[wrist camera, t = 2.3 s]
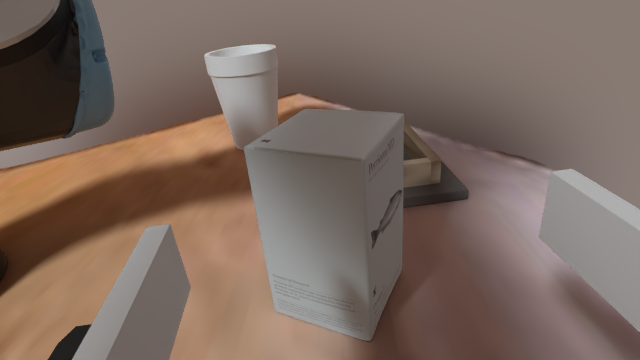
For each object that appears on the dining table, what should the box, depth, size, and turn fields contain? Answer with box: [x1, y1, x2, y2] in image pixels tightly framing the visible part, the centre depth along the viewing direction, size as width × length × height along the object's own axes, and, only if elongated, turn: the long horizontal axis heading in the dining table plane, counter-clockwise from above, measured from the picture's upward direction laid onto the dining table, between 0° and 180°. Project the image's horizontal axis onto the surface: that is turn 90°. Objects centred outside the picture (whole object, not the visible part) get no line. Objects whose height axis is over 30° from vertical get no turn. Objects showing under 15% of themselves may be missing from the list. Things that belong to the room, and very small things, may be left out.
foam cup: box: [204, 44, 278, 150], centre depth 54 cm, size 10×9×13 cm
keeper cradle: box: [403, 122, 468, 207], centre depth 44 cm, size 16×16×4 cm
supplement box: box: [244, 109, 404, 341], centre depth 25 cm, size 7×7×13 cm
